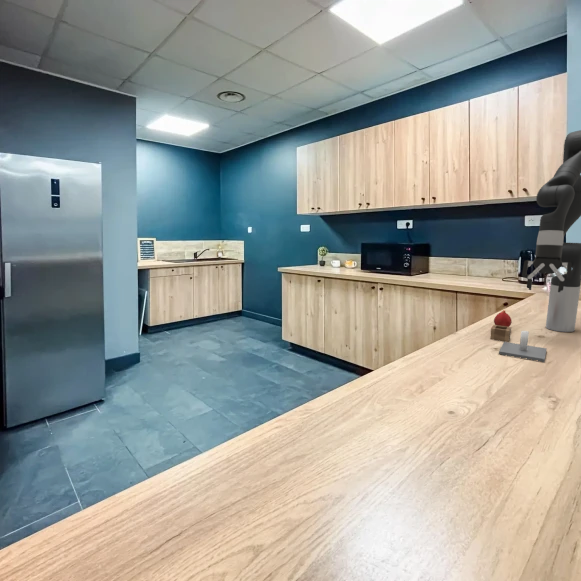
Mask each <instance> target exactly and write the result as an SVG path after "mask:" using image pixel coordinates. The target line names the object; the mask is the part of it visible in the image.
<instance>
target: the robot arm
mask: <svg viewBox="0 0 581 581" xmlns="http://www.w3.org/2000/svg"><path fill="white" fill-rule="evenodd" d="M562 155H563V156H562V157H563V158H562V164H561V165H560V166H559V167H558V168H557V170H556V171H555V173H554V175H553V177H552V178H550V179H549V180H548V181H547V182H546V183H544V185H542V186H541V187H540V189H539V190H538V192H537V194H536V198H535V199H536V203H537V205H538V206H539V207H542V208H554V207H556V209H554V211H552V212H549V213H545V214H542V215H541V216H540V220H539V227H538V228H539V230H538V234H537V238H536V247H535V256H534V257H535V258H534V260H533V261H532V260H528V259H527V260H524V261H523V266H522V272H521V276H522V278H525V279H527V280H526V288H527V289H528V290H529V291H531V290H532V286H533V277H535V276H536V275H537V274H538V273H539V274H548V275H549V274H550V275H553V274H555V275H554V276H552V277H551V280H550V286H549V295H548V303H547V314H546V320H545V321H546V322H545V328H546V329H548V330H550V331H555V332H561V333H562V332H564V333H572V332H575V329H576V322H577V314H578V308H579V300H580V292H581V242H564V237H565V235H566V234H567V232H568V231H569V230H570V229H571V227H572V226H573V225H574V224H575V223H576V222H577V221H578V220H579V218H580V217H581V129H580V130H576V131H572V132H571V131H570V132H569V133H568V134H566V137H565V139H564V144H563V154H562ZM531 265H533V266H534V268H535V269H534V270H533V271H532V272H531V273H530V274H528V269H529V267H531ZM560 268H564V269H566V273H563V274H561V272H560V271H559V269H560Z"/></svg>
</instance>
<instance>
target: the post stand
mask: <svg viewBox="0 0 581 581" xmlns="http://www.w3.org/2000/svg"><path fill="white" fill-rule="evenodd" d="M529 333H530V332H529V331H528V330H521V332H520V342H519V343H513V342H510V341H508V342H506V341H503V342H502V345H501V346H500V349H499V350H498V355H499V354H502V355H501V356H505V355H507V356H506V357H511V356H514V357H513V358H516V357H521V358H520V359H522V358H527V359H526V360H528V359H532V360H531V361H534V360H538V361H537V362H539V361H542V362H541V363H545V361H546V355H547V347H540V346H535V345H528V343H529Z"/></svg>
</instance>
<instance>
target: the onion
mask: <svg viewBox="0 0 581 581" xmlns="http://www.w3.org/2000/svg"><path fill="white" fill-rule="evenodd" d="M493 323H494V325H499V326H506V327H511V325H512V318H511V315H509V314H508V313H507V312H506V310H502V311H500V312H499V313H498V314H496V315H495V316H494V319H493Z"/></svg>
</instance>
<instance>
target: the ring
mask: <svg viewBox="0 0 581 581" xmlns="http://www.w3.org/2000/svg"><path fill="white" fill-rule="evenodd" d="M511 334H512V327H511V326H509V327H506V326H499V325H495V324H493V325H492V327H491V328H490V338H489V339H490V340H493V339H494V340H495V341H499V340H500V341H499V342H510V340H511Z"/></svg>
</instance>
